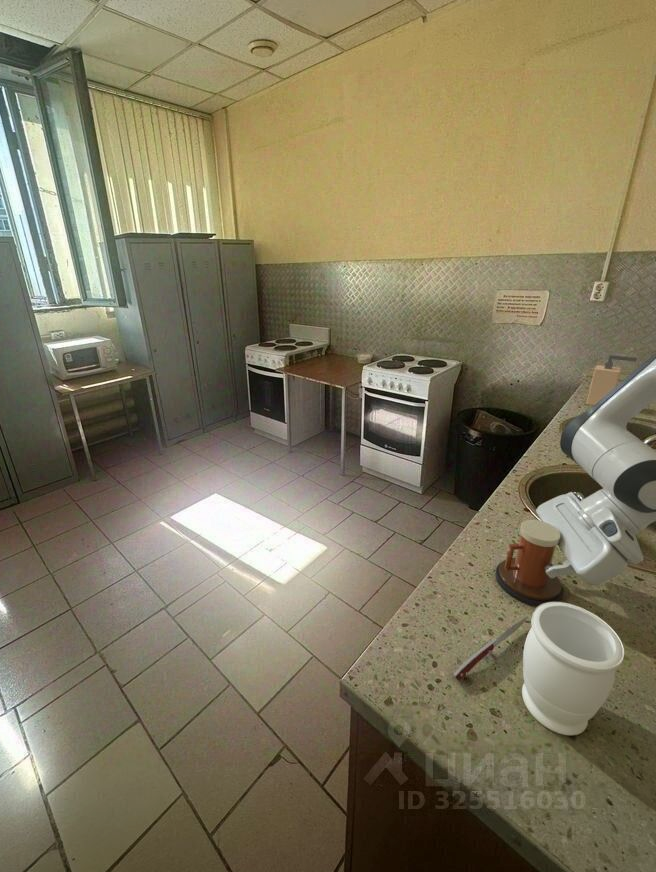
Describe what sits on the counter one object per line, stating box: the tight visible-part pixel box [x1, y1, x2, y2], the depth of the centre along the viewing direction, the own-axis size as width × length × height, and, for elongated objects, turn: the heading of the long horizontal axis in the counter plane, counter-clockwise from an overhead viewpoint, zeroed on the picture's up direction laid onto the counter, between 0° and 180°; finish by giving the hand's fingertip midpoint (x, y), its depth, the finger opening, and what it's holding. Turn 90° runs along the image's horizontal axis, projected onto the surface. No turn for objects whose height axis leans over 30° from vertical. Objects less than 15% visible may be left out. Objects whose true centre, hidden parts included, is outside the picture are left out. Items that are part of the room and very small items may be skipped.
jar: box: [521, 601, 625, 736], centre depth 56 cm, size 11×10×15 cm
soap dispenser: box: [585, 354, 638, 406], centre depth 172 cm, size 13×9×22 cm
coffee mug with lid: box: [499, 519, 562, 600], centre depth 78 cm, size 11×11×12 cm
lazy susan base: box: [494, 561, 564, 607], centre depth 80 cm, size 12×12×1 cm
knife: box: [452, 616, 529, 682], centre depth 66 cm, size 20×1×3 cm, turn 122°
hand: (537, 556), depth 78 cm, fingers open, 8 cm apart
